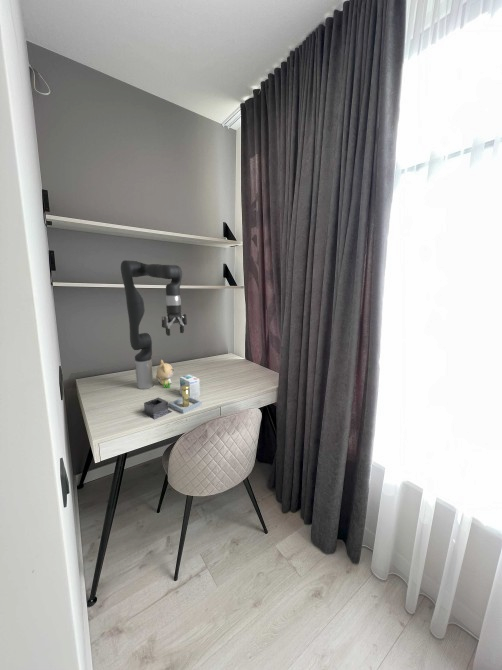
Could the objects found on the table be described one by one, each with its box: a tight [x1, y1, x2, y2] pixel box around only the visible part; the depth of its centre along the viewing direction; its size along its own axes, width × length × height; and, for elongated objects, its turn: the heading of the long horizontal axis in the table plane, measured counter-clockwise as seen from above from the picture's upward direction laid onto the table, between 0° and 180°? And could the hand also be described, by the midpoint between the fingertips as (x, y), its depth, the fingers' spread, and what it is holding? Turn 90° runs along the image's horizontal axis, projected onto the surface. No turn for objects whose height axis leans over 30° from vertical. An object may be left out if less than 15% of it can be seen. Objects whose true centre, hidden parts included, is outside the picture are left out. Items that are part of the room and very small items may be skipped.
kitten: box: [155, 359, 175, 389], centre depth 169 cm, size 15×10×15 cm
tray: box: [168, 396, 202, 415], centre depth 140 cm, size 12×12×3 cm
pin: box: [181, 385, 190, 408], centre depth 139 cm, size 4×4×11 cm
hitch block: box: [141, 397, 173, 421], centre depth 133 cm, size 12×10×6 cm
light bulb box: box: [179, 374, 201, 399], centre depth 154 cm, size 11×7×11 cm, turn 45°
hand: (175, 334), depth 146 cm, fingers open, 8 cm apart
